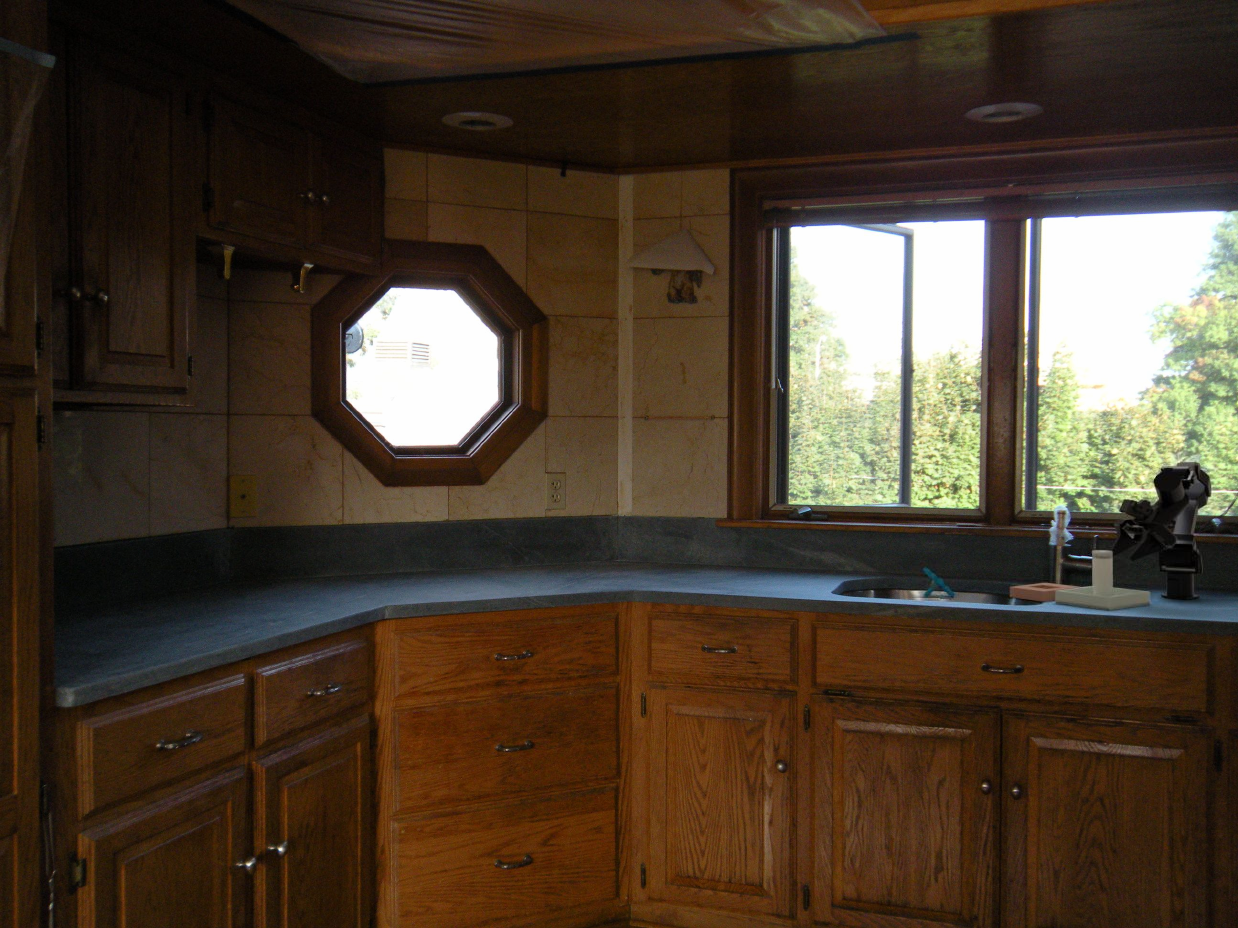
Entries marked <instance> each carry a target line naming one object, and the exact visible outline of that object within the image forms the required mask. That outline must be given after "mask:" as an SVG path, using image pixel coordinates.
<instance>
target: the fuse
mask: <svg viewBox="0 0 1238 928" xmlns="http://www.w3.org/2000/svg"><path fill="white" fill-rule="evenodd" d="M1091 554H1092V555H1091V556H1092V558H1091V559H1092V560H1091V561H1092V565H1091V566H1092V567H1091V569H1092V573H1091V574H1092V577H1091V579H1092V585H1091V586H1093V595H1098V596H1106V597H1110V596H1113V588H1114V577H1113V576H1114V575H1113V573H1114V572H1113V567H1114V566H1113V565H1114V563H1113V561H1114V559H1113V558H1114V557H1113V551H1111V550H1108V549H1107V550H1103V549H1099V550H1098V549H1095V550H1092V551H1091Z"/></svg>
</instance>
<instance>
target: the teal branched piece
mask: <svg viewBox="0 0 1238 928" xmlns="http://www.w3.org/2000/svg"><path fill="white" fill-rule="evenodd" d="M922 569H923V572H924V573H925V574H926V575H927V577H928V578H929V579H931V580H932V581H931V583H930V584H929V588H928V589H927V590H926V591H924V593H923V596H924V597H926V598H928V597H929V596H930V595H931V594H932V593H933V592H934V591H936V590H938V589H939V588H940V589H941V590H942V591H943V592H946V594H947V595H948V596H950V597H951V598H954V597H955V596H956V594H955V592H954V591H953V590H951V588H950V587H949V586H948V585H946V584H945V582H944V579H942V578H941V577H940V578H939V577H938V576H937V574H935V573H934V572H932V570H930V569H929V568H927V567H926V566H925V567H924V568H922Z"/></svg>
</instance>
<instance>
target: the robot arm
mask: <svg viewBox="0 0 1238 928" xmlns="http://www.w3.org/2000/svg"><path fill="white" fill-rule="evenodd" d="M1153 485H1154V489H1155V491H1156V495H1157V498H1158V499H1157V501H1155V502H1154V503H1153V504H1152V505H1151V501H1149V500H1147V499H1142V498H1141V499H1139V500H1133V499H1127V498H1126V499H1125V498H1123V500H1122V503H1121V505H1120V506H1119V509H1118V511H1119V512H1120V513H1122V514H1126V515H1129V516H1130V517H1133V518H1132V519H1128V518H1118V519H1117V520H1116V521H1115V522H1114V524H1113V525H1114V529H1115V531H1116V538H1115V540H1114V542H1113V544H1112V546H1111V548H1110V551H1113V558H1114V557H1116V556H1118V555H1120V554H1122V553H1123V552H1126V551H1127V550H1129V549H1130V548H1132V547H1134V546H1136V547H1135V549H1134V550H1133V551H1132V553H1131V554H1130V556H1129V557H1128V558H1129V560H1130V561H1131V562H1134V561H1137V560H1140V559H1142V558H1145V557H1147V556H1149V555H1152V554H1155V553H1158V564H1159V565H1158V566H1159V573H1166V593H1163V594H1160V597H1162V598H1170V599H1178V600H1191V599H1198V598H1201V596H1200V594H1199V595H1198V594H1195V592H1194V591H1195V578H1194V577H1195V576H1194V575H1203V571H1204V570H1203V568H1204V567H1203V558H1202V555H1201V554H1200V551H1199V549H1197V543H1196V539H1195V536H1194V533H1195V530H1196V529H1195V528H1196V523H1197V519H1198V515H1199V510H1200V509H1202V508H1203V507H1205V506H1207V504H1208V502H1209V498H1211V497H1212V483H1211V476H1210V475H1209V474H1208V473H1206V472H1205V470H1203V469H1201V463H1200V462H1197V461H1180V462H1177V464H1176V465H1163V466H1161V467H1160V470H1158V471H1157V473H1156V475H1155V476H1154V478H1153ZM1171 526H1172V527H1173V532H1172V530H1170V528H1169V527H1171ZM1138 542H1139V543H1138Z"/></svg>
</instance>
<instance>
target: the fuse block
mask: <svg viewBox="0 0 1238 928" xmlns="http://www.w3.org/2000/svg"><path fill="white" fill-rule="evenodd" d="M1073 588H1081V586H1075V585H1066V584H1059V583H1053V582H1051V583H1050V582H1040V583H1034V584H1033V583H1032V584H1025V585H1015V586H1009V598H1014V599H1023V600H1030V601H1036V602H1044V603H1045V602H1051V601H1055V591H1057V590H1065V589H1073Z"/></svg>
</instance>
